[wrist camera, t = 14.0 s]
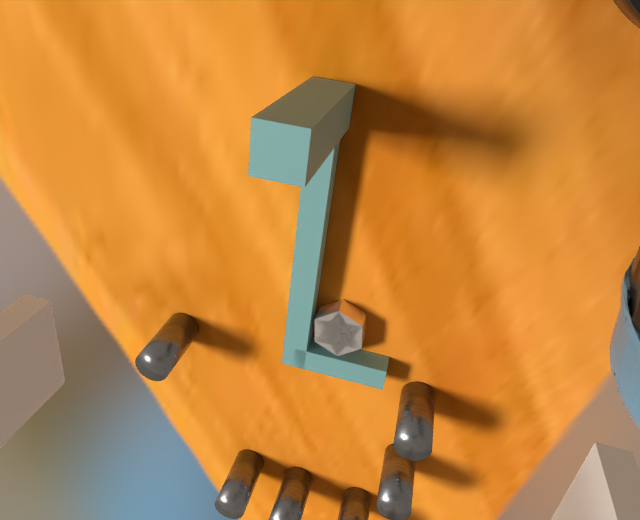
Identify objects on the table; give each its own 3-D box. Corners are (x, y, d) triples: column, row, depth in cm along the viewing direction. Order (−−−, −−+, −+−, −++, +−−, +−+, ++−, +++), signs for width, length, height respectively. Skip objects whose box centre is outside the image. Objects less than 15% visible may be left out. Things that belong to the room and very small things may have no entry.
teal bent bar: (312, 76, 35) (251, 117, 25) (452, 100, 34) (448, 155, 23) (283, 348, 47) (233, 451, 37) (385, 374, 46) (363, 488, 35)
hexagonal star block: (367, 300, 43) (363, 314, 41) (364, 345, 45) (360, 359, 43) (320, 294, 44) (314, 307, 42) (320, 338, 46) (314, 352, 44)
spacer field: (441, 378, 44) (438, 430, 39) (396, 518, 55) (390, 574, 49) (169, 309, 48) (134, 349, 43) (174, 452, 58) (146, 498, 53)
